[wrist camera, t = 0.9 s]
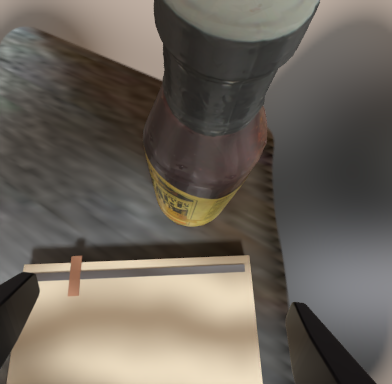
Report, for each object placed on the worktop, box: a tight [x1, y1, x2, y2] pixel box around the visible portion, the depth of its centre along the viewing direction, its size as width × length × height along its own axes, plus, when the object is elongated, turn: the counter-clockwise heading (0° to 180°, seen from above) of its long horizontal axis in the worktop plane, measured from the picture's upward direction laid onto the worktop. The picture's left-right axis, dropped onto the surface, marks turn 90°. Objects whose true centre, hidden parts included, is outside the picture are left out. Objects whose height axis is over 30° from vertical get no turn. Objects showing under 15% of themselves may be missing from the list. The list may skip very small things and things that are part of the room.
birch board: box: [7, 255, 263, 384], centre depth 21 cm, size 10×18×2 cm, turn 93°
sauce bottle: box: [143, 0, 320, 226], centre depth 16 cm, size 7×6×20 cm
